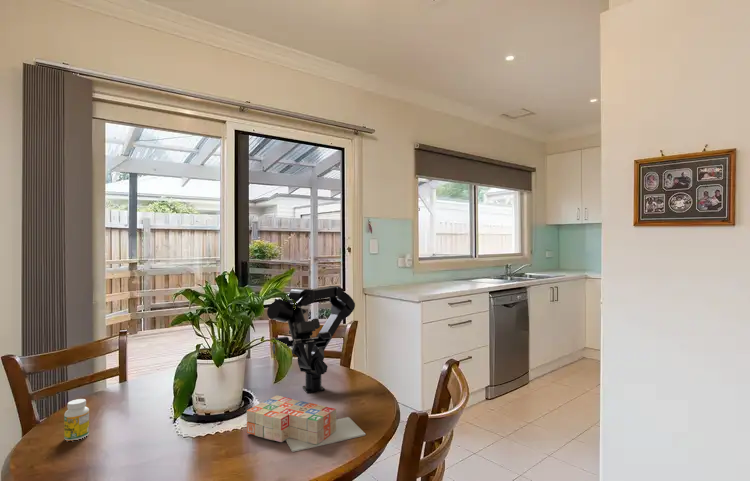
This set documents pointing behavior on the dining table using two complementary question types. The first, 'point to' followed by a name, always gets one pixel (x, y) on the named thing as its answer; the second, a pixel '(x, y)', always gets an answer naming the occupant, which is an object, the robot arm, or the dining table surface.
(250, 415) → the stack of blocks
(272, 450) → the dining table surface
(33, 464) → the dining table surface
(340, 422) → the rubber mat
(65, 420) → the supplement bottle
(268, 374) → the dining table surface
